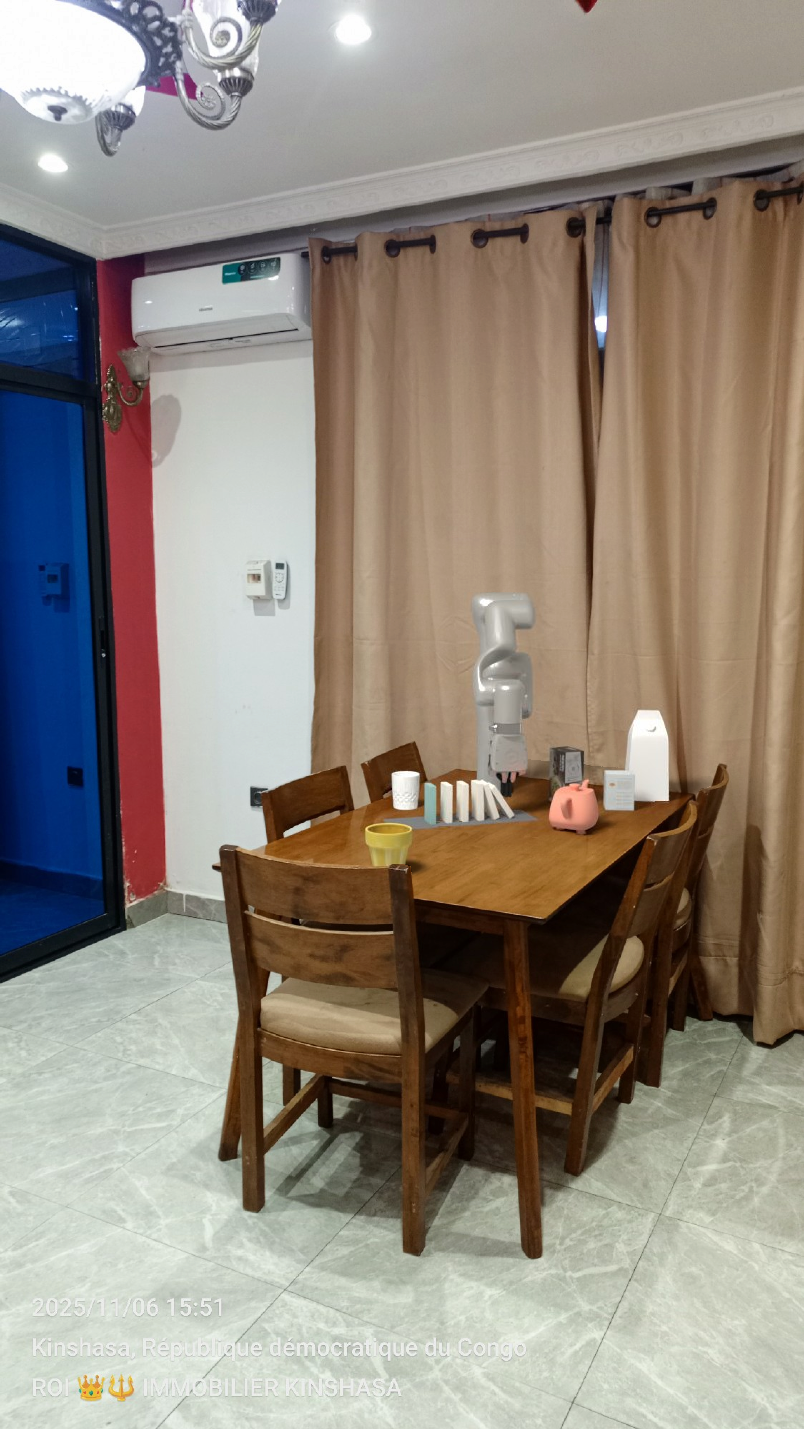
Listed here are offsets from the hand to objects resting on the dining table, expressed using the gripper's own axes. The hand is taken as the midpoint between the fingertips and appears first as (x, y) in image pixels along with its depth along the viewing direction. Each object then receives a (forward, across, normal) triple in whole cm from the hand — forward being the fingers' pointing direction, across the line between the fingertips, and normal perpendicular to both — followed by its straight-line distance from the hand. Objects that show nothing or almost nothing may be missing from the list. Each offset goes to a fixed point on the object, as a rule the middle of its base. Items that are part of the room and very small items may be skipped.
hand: (506, 796), depth 259 cm
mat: (+6, -13, 0) cm, 14 cm away
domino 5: (+5, -4, 0) cm, 6 cm away
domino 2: (+6, -17, 0) cm, 18 cm away
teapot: (+6, +13, -15) cm, 21 cm away
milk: (+6, +50, +13) cm, 52 cm away
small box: (+6, +35, +2) cm, 36 cm away
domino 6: (+5, +1, 0) cm, 5 cm away
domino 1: (+6, -22, 0) cm, 22 cm away
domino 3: (+6, -13, 0) cm, 14 cm away
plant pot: (+6, -43, -36) cm, 57 cm away
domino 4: (+6, -8, 0) cm, 10 cm away
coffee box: (+6, +23, +11) cm, 26 cm away
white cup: (+6, -23, +18) cm, 30 cm away
